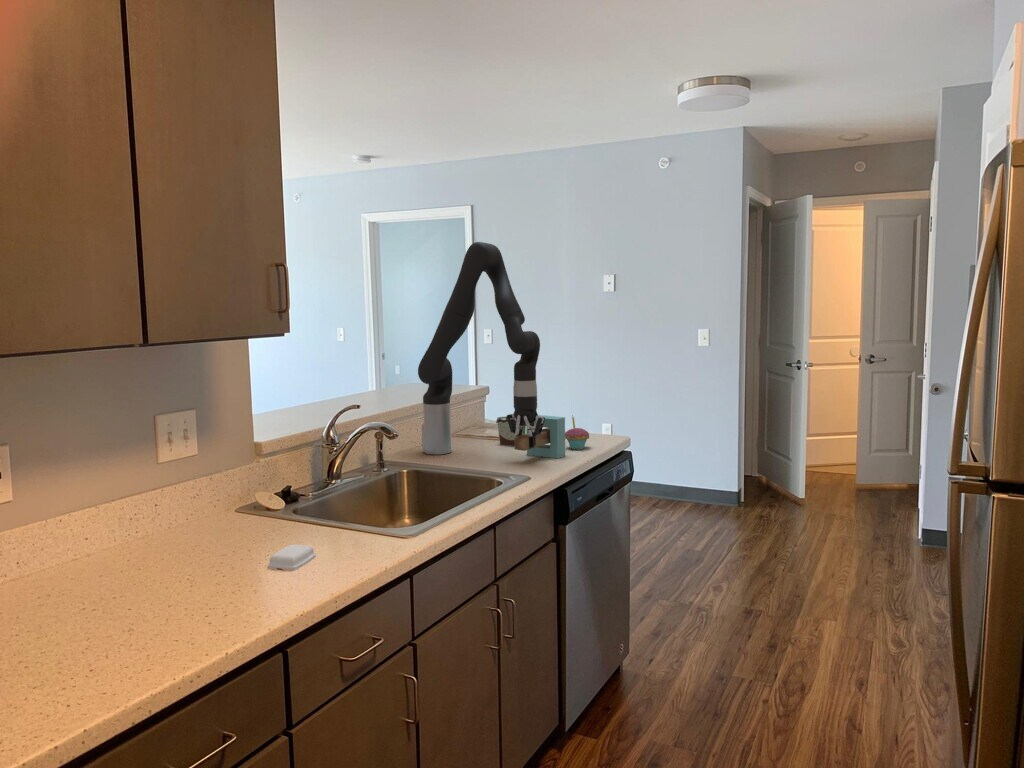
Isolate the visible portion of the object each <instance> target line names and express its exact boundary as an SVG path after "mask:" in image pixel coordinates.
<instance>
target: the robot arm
mask: <svg viewBox="0 0 1024 768" xmlns="http://www.w3.org/2000/svg"><path fill="white" fill-rule="evenodd" d="M483 272H484V273H485V274H486V275H487V277H488V278H489V280H490V283H491V284H492V287H493V293H494V302H495V306H496V307H495V308H496V310H497V312H498V315H499V317H500V319H501V322H502V323H503V325H504V332H505V336H506V342H507V344H508V348H509V349H510V350H511V351H512V353H514V354H516V355H520V358H519V360H518V361H516V362H515V363H514V366H513V387H512V389H513V409H514V411H513V413H510V414H507V415H506V416H507V420H508V424H509V427H510V430H511V432H512V433H515V434H516V436H520V435H522V433H523V428H524V427H525V426H526V431H527V430H528V432H529V436H530V437H529V448H534V447H535V445H536V435H539V434H541V432H542V429H544V427H543V425H544V421H545V417H540V416H538V415H539V414H538V412H537V409H538V385H537V368H536V367H537V363H538V360H539V356H540V355H539V354H540V350H541V340H540V337H539V336H538V334H537V333H536V332H534V331H532V330H526V331H524V330H523V327H522V325H524V323H525V321H526V317H525V314H524V313H523V310H522V309H521V306H520V304H519V302H518V300H517V298H516V295H515V293H514V290H513V288H512V285H511V281H510V278H509V275H508V272H507V269H506V266H505V262H504V258H503V254H502V253H501V250H500V249H499V247H498V246H496V245H495V244H492V243H488V242H482V241H476V242H473V243H471V244H470V245H469V246H468V248H467V250H466V252H465V254H464V258H463V261H462V264H461V268H460V270H459V274H458V277H457V280H456V282H455V284H454V286H453V290H452V292H451V295H450V296H449V299H448V301H447V303H446V306H445V309H444V310H443V313H442V316H441V318H440V319H439V323H438V325H437V328H436V330H435V332H434V334H433V337H432V340H431V341H430V343H429V345H428V347H427V349H426V351H425V352H424V355H423V356H422V358H421V359H420V362H419V364H418V368H417V375H418V378H419V380H420V381H421V383H423V384H425V385H428V388H427V389H426V392H425V393H424V394H423V396H422V407H423V409H422V411H423V413H422V414H423V424H421V444H422V445H421V447H422V451H421V452H422V453H425V454H427V455H445V454H449V453H451V452H452V426H451V424H452V423H451V420H452V419H451V396H452V393H453V366H452V363H451V362H450V360H449V359H448V358H447V357H448V355H449V352H450V351H451V349H452V348H453V347H454V346H455V344H456V343H458V341H459V339H461V337H462V336H463V335H464V334H465V332H466V330H467V329H468V326H469V325H470V323H471V319H472V317H473V316H474V314H475V313H474V312H475V307H476V301H475V300H476V296H475V295H476V287H477V284H478V282H479V279H480V278H481V275H482V274H483ZM515 419H516V420H517V423H516V421H515ZM535 420H536V422H537V424H536V425H535Z"/></svg>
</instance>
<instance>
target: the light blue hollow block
mask: <svg viewBox="0 0 1024 768" xmlns="http://www.w3.org/2000/svg"><path fill="white" fill-rule="evenodd" d="M538 416H540V417H545V421H544V425H543V428H550V443H549V444H545V445H542V446H539V447H535V448H532V449H529V450H526V456H533V455H535V456H534V457H541V456H543V457H542V458H548V457H550V458H551V459H556V458H557V459H560V457H561V458H563V457H566V439H565V433H566V417H564V416H555V415H543V414H538ZM536 424H537V422H536V420H535V425H536ZM527 433H529V432H528V430H527V429H526V434H527ZM557 459H556V460H557Z"/></svg>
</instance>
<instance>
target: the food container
mask: <svg viewBox="0 0 1024 768" xmlns="http://www.w3.org/2000/svg"><path fill="white" fill-rule="evenodd" d="M515 421H516V423H517V420H516V419H515ZM495 423H496V424H497V429H498V438H499V446H502V445H504V447H511V446H513V447H514V437H516V434H515V433H512V432H511V430H510V427H509V424H508V420H507V415H506V416H499V417H497V418H496V420H495ZM526 431H527V427H526V426H525V427H524V428H523V433H522V435H524V434H526ZM513 447H512V448H513ZM514 448H515V447H514Z"/></svg>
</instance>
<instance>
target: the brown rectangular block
mask: <svg viewBox="0 0 1024 768" xmlns="http://www.w3.org/2000/svg"><path fill="white" fill-rule="evenodd" d="M529 437H530V436H529V433H527V432H526V433H525V434H524V435H520V436H516V437H514V450H517V451H522V452H523V451H525V452H527V450H529V449H532V448H529ZM549 444H550V428H546V427H544V428H542V432H541V434H539V435H536V445H535V447H539V446H542V445H549ZM535 447H534V448H535Z"/></svg>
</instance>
